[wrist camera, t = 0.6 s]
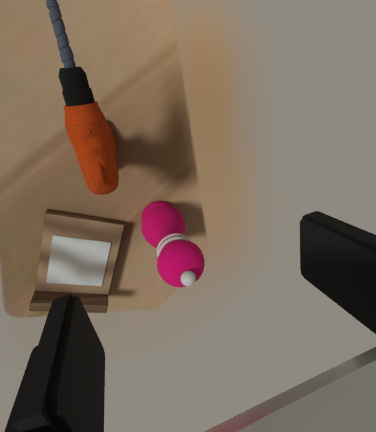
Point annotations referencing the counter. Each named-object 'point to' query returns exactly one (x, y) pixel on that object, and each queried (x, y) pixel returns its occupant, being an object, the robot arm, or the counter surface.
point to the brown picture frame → (76, 259)
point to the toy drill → (85, 118)
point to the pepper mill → (172, 245)
